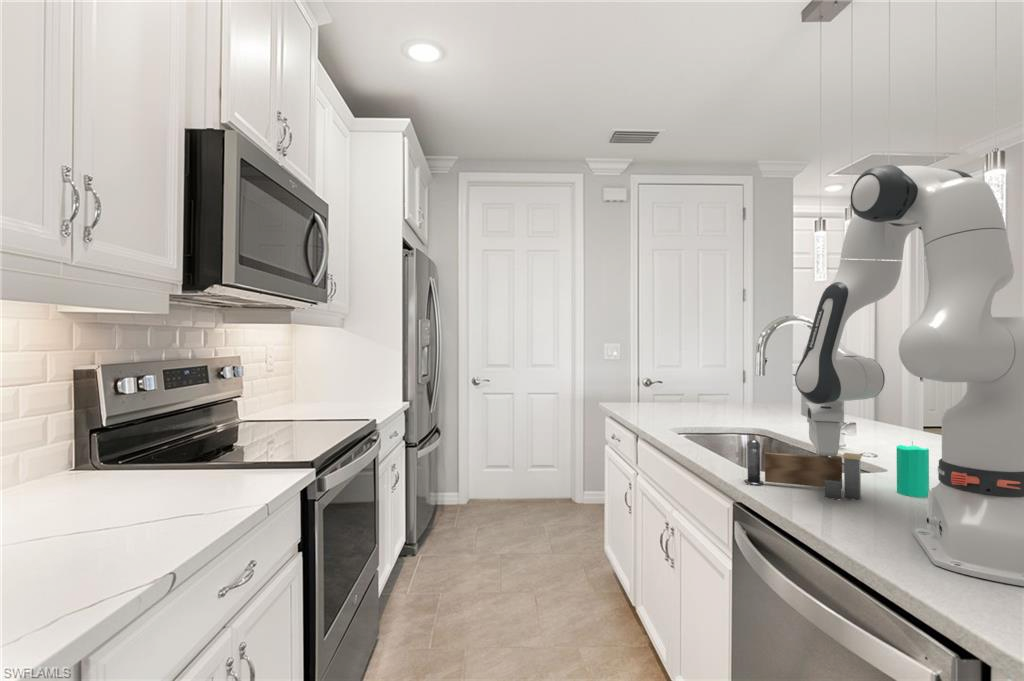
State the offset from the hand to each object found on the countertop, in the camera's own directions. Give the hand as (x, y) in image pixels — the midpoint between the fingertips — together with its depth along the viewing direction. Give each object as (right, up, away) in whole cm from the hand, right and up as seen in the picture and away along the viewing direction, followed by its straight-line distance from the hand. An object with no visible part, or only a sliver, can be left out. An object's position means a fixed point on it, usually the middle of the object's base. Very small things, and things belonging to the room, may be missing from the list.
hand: (822, 466), depth 126 cm
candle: (+17, -5, -6) cm, 19 cm away
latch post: (0, -5, -8) cm, 10 cm away
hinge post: (-15, -5, +4) cm, 16 cm away
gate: (-5, -4, -1) cm, 7 cm away
